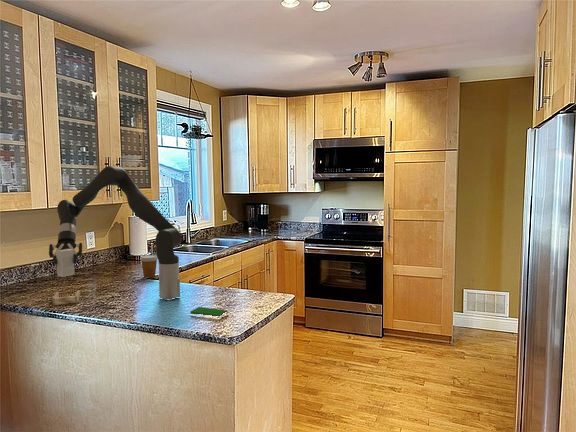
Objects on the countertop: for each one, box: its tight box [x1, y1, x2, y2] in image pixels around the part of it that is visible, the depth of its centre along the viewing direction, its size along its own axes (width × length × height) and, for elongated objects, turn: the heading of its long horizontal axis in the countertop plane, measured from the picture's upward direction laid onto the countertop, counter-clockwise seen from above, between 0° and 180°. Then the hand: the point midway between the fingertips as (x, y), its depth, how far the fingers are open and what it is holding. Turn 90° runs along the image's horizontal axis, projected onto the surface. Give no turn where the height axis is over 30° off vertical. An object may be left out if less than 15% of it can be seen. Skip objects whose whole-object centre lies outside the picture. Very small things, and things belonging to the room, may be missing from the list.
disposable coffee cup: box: [139, 254, 158, 279], centre depth 236 cm, size 10×10×12 cm
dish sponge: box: [189, 306, 228, 316], centre depth 172 cm, size 7×14×2 cm, turn 71°
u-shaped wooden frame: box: [51, 289, 81, 306], centre depth 191 cm, size 10×11×3 cm
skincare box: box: [55, 249, 76, 278], centre depth 190 cm, size 6×4×12 cm
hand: (64, 263), depth 188 cm, fingers closed on skincare box, 7 cm apart
